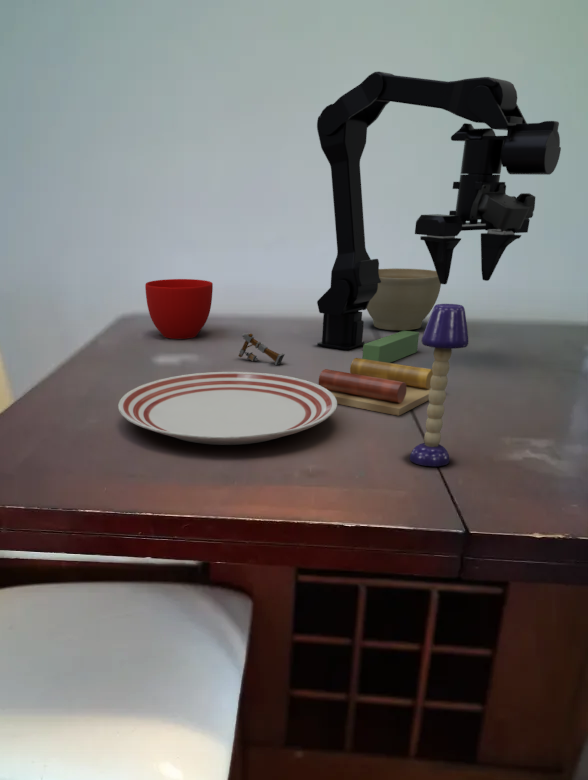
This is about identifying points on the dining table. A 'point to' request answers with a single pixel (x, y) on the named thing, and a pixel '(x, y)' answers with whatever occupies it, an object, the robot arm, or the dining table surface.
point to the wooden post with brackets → (261, 347)
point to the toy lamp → (440, 377)
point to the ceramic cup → (179, 306)
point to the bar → (391, 347)
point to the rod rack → (379, 386)
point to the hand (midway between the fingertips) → (464, 282)
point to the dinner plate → (228, 407)
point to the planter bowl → (403, 298)
